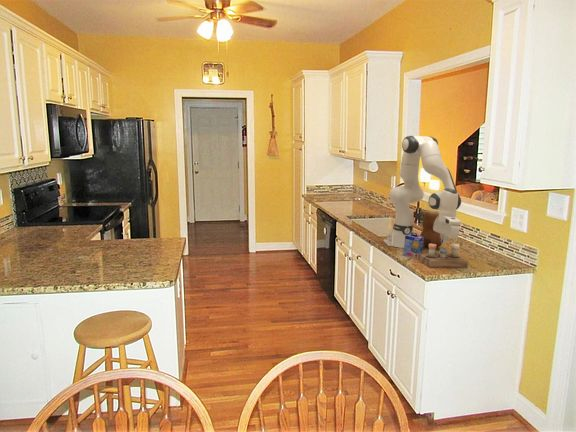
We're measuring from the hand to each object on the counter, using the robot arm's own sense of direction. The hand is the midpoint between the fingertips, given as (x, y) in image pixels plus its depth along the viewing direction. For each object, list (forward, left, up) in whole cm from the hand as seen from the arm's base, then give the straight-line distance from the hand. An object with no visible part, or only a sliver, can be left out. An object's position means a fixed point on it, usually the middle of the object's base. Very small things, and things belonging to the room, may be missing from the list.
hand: (443, 242), depth 240 cm
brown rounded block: (-35, +13, -12) cm, 40 cm away
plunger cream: (+1, +7, -8) cm, 11 cm away
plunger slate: (+1, 0, -10) cm, 10 cm away
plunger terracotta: (+1, -7, -8) cm, 10 cm away
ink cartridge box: (-16, -9, -12) cm, 22 cm away
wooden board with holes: (+1, 0, -12) cm, 12 cm away
